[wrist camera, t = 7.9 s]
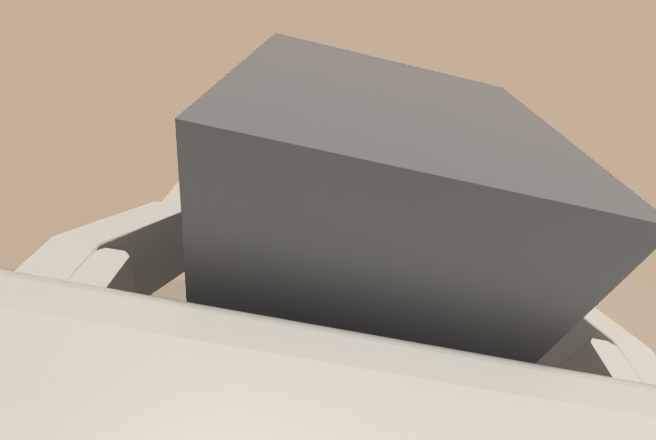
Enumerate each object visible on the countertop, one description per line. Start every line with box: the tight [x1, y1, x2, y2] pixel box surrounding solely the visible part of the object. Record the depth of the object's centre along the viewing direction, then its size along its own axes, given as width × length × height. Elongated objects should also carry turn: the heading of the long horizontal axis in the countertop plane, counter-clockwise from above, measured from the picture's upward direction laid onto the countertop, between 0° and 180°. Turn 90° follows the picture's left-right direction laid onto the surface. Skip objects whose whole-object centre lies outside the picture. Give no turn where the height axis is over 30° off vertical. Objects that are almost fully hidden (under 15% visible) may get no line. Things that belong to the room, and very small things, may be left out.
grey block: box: [175, 33, 656, 364], centre depth 10 cm, size 6×6×10 cm
